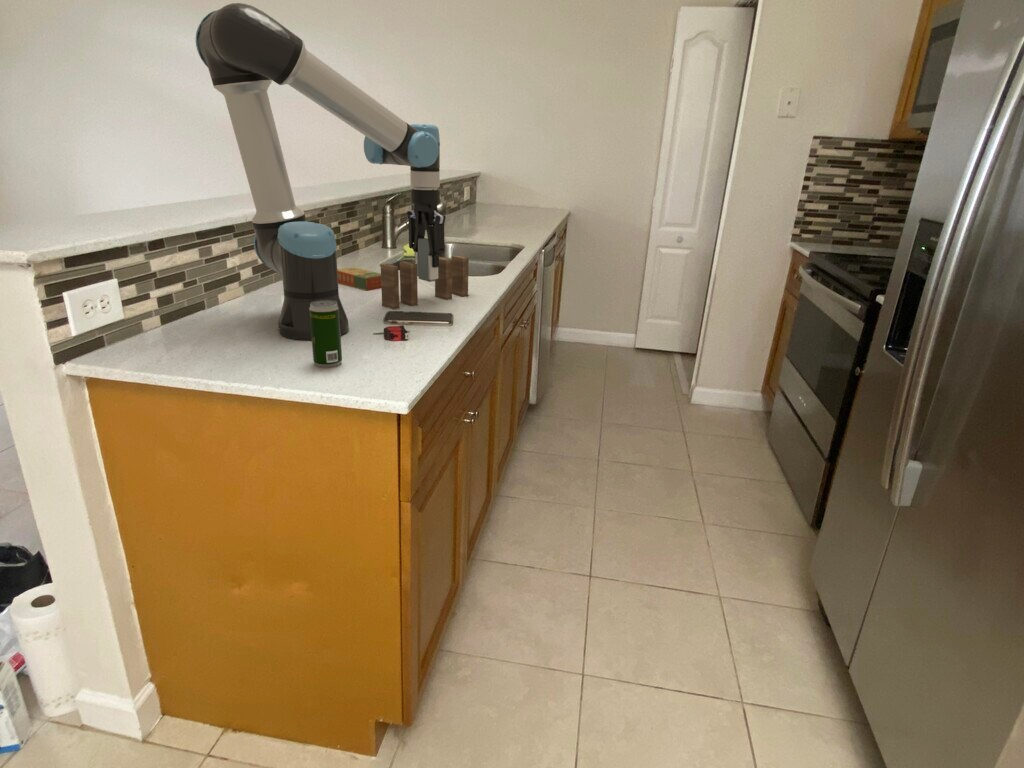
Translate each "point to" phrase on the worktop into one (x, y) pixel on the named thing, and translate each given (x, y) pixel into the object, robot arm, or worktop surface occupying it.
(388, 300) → the domino
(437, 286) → the domino
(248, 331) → the worktop surface
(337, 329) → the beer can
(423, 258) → the domino
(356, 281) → the carton
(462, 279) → the domino
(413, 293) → the domino
